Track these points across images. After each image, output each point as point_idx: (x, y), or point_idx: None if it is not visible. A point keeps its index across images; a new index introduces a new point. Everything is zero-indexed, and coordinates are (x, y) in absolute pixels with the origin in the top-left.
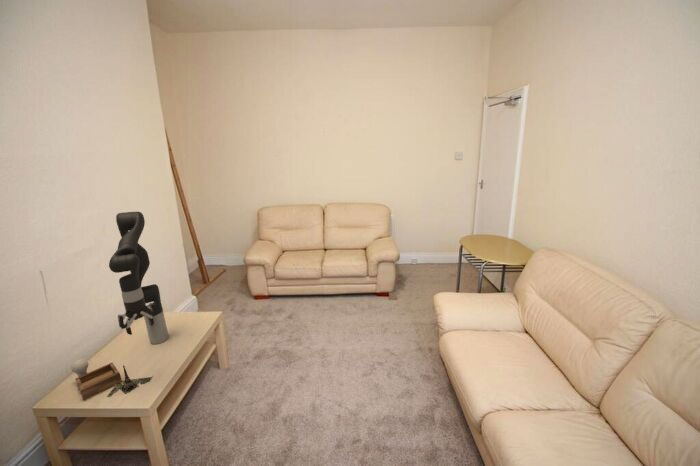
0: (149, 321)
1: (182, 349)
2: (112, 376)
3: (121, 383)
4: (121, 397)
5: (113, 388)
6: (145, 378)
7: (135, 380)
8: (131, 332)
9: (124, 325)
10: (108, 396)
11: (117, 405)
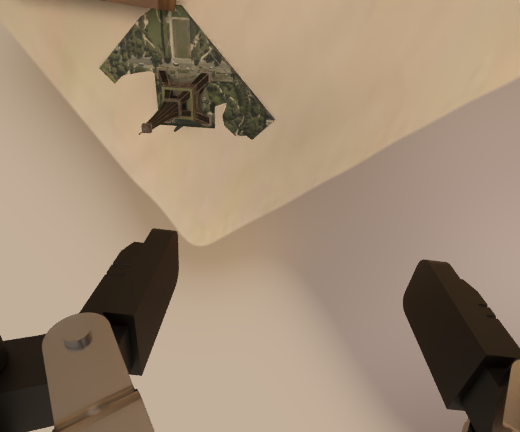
0: (441, 321)
1: (498, 28)
2: (121, 2)
3: (169, 26)
4: None
5: (133, 28)
6: (252, 101)
7: (219, 71)
8: (167, 299)
9: (20, 430)
10: (106, 73)
11: (124, 163)
